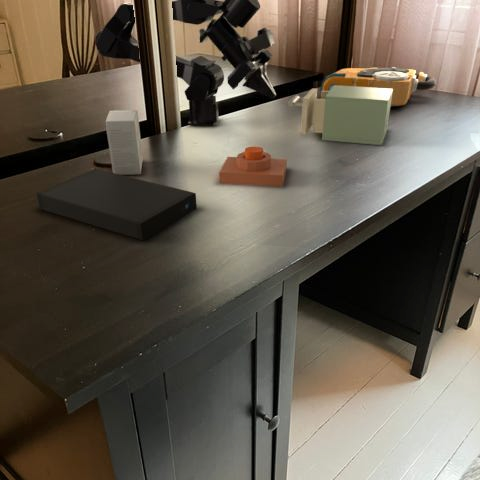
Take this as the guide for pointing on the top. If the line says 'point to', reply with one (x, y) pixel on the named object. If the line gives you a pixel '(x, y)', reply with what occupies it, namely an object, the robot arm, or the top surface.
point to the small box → (124, 141)
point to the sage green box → (356, 114)
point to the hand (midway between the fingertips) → (274, 96)
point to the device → (382, 81)
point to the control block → (253, 171)
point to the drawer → (311, 110)
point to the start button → (254, 153)
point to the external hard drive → (118, 203)
